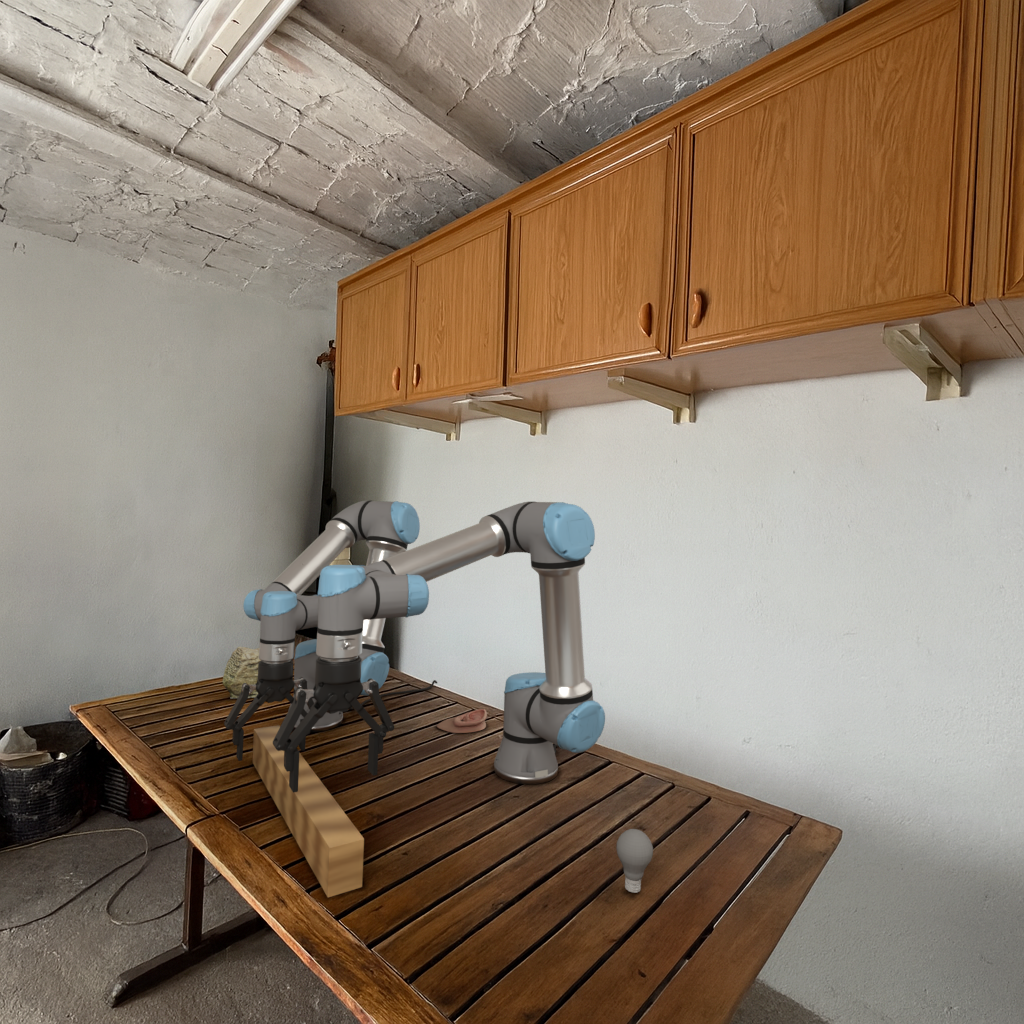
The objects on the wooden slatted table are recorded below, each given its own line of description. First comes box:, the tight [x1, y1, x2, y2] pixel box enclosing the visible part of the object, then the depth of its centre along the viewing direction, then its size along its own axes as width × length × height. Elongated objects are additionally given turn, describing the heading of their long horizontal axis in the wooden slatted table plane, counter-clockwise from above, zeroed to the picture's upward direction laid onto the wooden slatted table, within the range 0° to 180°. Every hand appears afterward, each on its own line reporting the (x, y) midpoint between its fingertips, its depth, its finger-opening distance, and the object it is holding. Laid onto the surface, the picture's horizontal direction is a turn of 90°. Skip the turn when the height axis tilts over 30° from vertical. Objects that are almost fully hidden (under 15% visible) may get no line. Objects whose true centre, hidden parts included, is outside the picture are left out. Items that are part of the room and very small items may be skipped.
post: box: [252, 724, 365, 899], centre depth 126 cm, size 58×6×8 cm, turn 33°
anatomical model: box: [436, 708, 488, 734], centre depth 178 cm, size 13×4×12 cm
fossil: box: [222, 646, 261, 699], centre depth 198 cm, size 9×18×15 cm, turn 132°
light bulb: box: [615, 828, 654, 894], centre depth 106 cm, size 6×6×10 cm
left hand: (271, 753), depth 144 cm, fingers open, 13 cm apart
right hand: (334, 780), depth 108 cm, fingers open, 13 cm apart
